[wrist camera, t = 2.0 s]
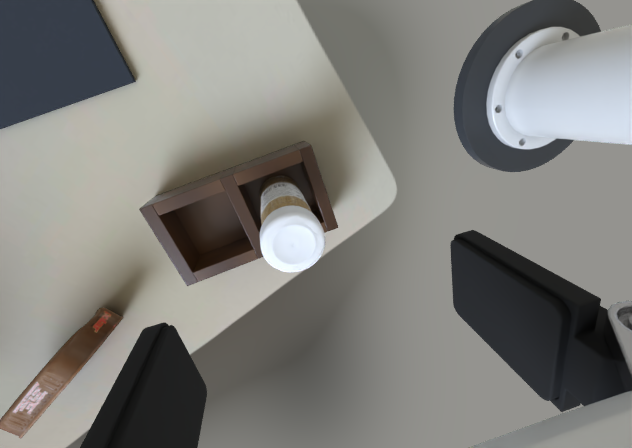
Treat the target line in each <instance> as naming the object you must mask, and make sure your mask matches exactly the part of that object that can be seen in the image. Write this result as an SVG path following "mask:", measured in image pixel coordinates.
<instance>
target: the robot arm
mask: <svg viewBox="0 0 632 448" xmlns="http://www.w3.org/2000/svg"><path fill="white" fill-rule="evenodd" d="M486 106H487V117H488V122H489V125H490V127H491V129H492V132H493V133H494V134H495V136H496V137H497V138H498V139H499V140H500V141H501V142H502V143H504V144H505V145H507V146H510V147H512V148H518V149H534V148H539V147H542V146H544V145H547V144H549V143H550V142H552V141H554V140H555V139H557V138H558V139H570V140H581V141H593V142H605V143H617V144H628V145H632V24H631V25H627V26H623V27H619V28H614V29H610V30H606V31H602V32H598V33H593V34H589V35H585V36H581V37H580V36H579V35H578V34H577V33H575V32H574V31H572V30H570V29H567V28H564V27H549V28H545V29H541V30H538V31H535V32H533V33H530V34H528V35H527V36H525V37H523V38H522V39H520V40H519V41H518V42H517V43H515V44H514V45H513V46H512V47H511V48H510V49H509V50H508V52H507V53H506V54H505V55H504V56H503V58H502V59H501V61H500V63H499V64H498V66H497V67H496V69H495V72H494V74H493V76H492V79H491V82H490V85H489V89H488V94H487V102H486ZM451 264H452V285H453V303H454V308H455V310H456V312H457V313H458V314H459V315H460V317H461V318H462V319H463V320H464V321H465V322H467V324H468V325H469V326H471V327H472V329H473V330H474V331H475V332H476V333H477V334H478V335H479V336H480V337H481V338H482V339H483V340H484V341H485V342H486V343H487V344H488V345H489V346H490V347H491V348H492V349H493V350H494V351H495V352H496V353H497V354H498V355H499V356H500V357H501V358H502V359H503V360H504V361H505V362H506V363H507V364H508V365H509V366H510V367H511V368H512V369H513V370H514V371H515V372H516V373H517V374H518V375H519V376H520V377H521V378H522V379H523V380H524V381H525V382H526V383H527V384H528V385H529V386H530V387H531V388H532V389H533V390H534V391H535V392H536V393H537V394H538V395H539V396H540V397H541V398H543V399H544V400H547V401H549V400H550V401H551V402H552V403H553V404H554V405H555V406H556V407H557V408H558V409H559V410H560V411H561V412H563V411H566V410H569V409H571V408H574V407H576V406H579V405H580V403H581V404H582V405H584V407H581V408H578V409H575V410H572V411H569V412H566V413H563V414H560V415H558V416H555V417H552V418H549V419H546V420H544V421H541V422H538V423H535V424H533V425H530V426H527V427H525V428H522V429H519V430H516V431H513V432H510V433H508V434H505V435H502V436H500V437H497V438H494V439H491V440H488V441H486V442H483V443H480V444H478V445H475V446H472V447H469V448H632V301H625V302H618V303H616V304H613V305H611V306H610V308H609V309H608V310H607V309H605V308H603V307H601V306H600V301H601V299H600V298H599V297H597V296H595V295H593V294H591V293H589V292H587V291H586V290H584V289H582V288H580V287H578V286H576V285H575V284H573V283H571V282H569V281H567V280H565V279H563V278H562V277H560V276H558V275H556V274H554V273H553V272H551V271H549V270H547V269H545V268H543V267H541V266H540V265H538V264H536V263H534V262H532V261H530V260H528V259H527V258H525V257H523V256H521V255H519V254H517V253H516V252H514V251H512V250H510V249H508V248H506V247H504V246H503V245H501V244H499V243H497V242H495V241H493V240H491V239H490V238H488V237H486V236H484V235H482V234H481V233H478V232H477V231H474V230H471V231H468V232H464V233H461V234H458V235H456V236H455V238H454V240H453V241H451ZM206 397H207V390H206V385H205V383H204V381H203V379H202V377H201V376H200V374H199V372H198V370H197V368H196V366H195V364H194V362H193V360H192V358H191V357H190V355H189V353H188V351H187V349H186V347H185V345H184V343H183V342H182V340H181V338H180V336H179V334H178V332H177V330H176V329H175V327H174V326H173V325H170V326H168V324H166V323H161V324H157V325H154V326H151V327H147V328H145V329H143V331H142V332H141V334H140V336H139V338H138V340H137V342H136V344H135V346H134V347H133V349H132V351H131V353H130V355H129V357H128V359H127V361H126V362H125V364H124V366H123V368H122V370H121V372H120V374H119V376H118V377H117V379H116V381H115V383H114V385H113V387H112V389H111V391H110V392H109V394H108V396H107V398H106V400H105V402H104V404H103V406H102V407H101V409H100V411H99V413H98V415H97V417H96V419H95V421H94V422H93V424H92V426H91V428H90V430H89V432H88V434H87V436H86V438H85V439H84V441H83V443H82V445H81V447H80V448H197V446H198V441H199V435H200V430H201V424H202V419H203V413H204V407H205V402H206Z"/></svg>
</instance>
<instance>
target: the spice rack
mask: <svg viewBox="0 0 632 448" xmlns="http://www.w3.org/2000/svg"><path fill="white" fill-rule="evenodd" d="M279 175H283V176H287V177H289V178H291V179H293V180H294V181H295V182H296V183H297V185H298V186H299V188H300V191H301V193H302V195H303V196H304V198H305V200H306V202H307V204H308V206H309V207H310V209H311V212H312V213H313V214H314V215H315V216H316V217H317V219H318V220H319V222H320V224H321V226H322V228H323V230H324V233H325V232H327V231H331V230H333V229H336V228H338V225H337V222H336V219H335V216H334V213H333V210H332V207H331V204H330V201H329V198H328V195H327V192H326V189H325V186H324V183H323V180H322V177H321V174H320V171H319V168H318V165H317V162H316V158H315V155H314V152H313V149H312V146H311V145H310V144H308V143H306V142H305V141H303V142H300V143H297V144H295V145H292V146H289V147H286V148H284V149H281V150H278V151H276V152H273V153H270V154H268V155H265V156H262V157H259V158H257V159H254V160H251V161H249V162H246V163H243V164H241V165H238V166H235V167H233V168H230V169H227V170H224V171H222V172H219V173H216V174H214V175H211V176H208V177H206V178H203V179H200V180H198V181H195V182H192V183H189V184H187V185H184V186H181V187H179V188H176V189H173V190H171V191H168V192H165V193H162V194H160V195H157V196H155V197H154V198H152V199H151V200H150V201H149V202H147V203H146V204H145V205H144V206H142V207H141V208H140V209H139V210H140V211H141V213H142V214H143V216H144V218H145V219H146V221H147V222H148V224H149V226H150V227H151V229H152V230H153V232H154V234H155V235H156V237H157V238H158V240H159V242H160V243H161V245H162V246H163V248H164V250H165V251H166V253H167V254H168V256H169V258H170V259H171V261H172V262H173V264H174V266H175V267H176V269H177V270H178V272H179V274H180V275H181V277H182V279H183V280H184V282H185V283H186V285H187V286H189V285H191V284H194V283H197V282H199V281H202V280H204V279H207V278H209V277H212V276H215V275H217V274H220V273H222V272H225V271H227V270H230V269H233V268H235V267H238V266H240V265H243V264H245V263H248V262H251V261H253V260H256V259H258V258H261V257H264V256H263V254H262V251H261V247H260V229H261V226H262V223H261V202H260V197H259V194H260V190H261V187H262V185H263V184H264V182H265V181H266V180H268V179H269V178H271V177H274V176H279Z"/></svg>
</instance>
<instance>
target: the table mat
mask: <svg viewBox="0 0 632 448" xmlns="http://www.w3.org/2000/svg"><path fill="white" fill-rule="evenodd" d="M133 82H136V81H135V79H134V77H133V75H132V73H131V71H130V69H129V67H128V65H127V64H126V62H125V60H124V58H123V56H122V54H121V52H120V50H119V48H118V46H117V45H116V43H115V41H114V39H113V37H112V35H111V33H110V31H109V29H108V27H107V26H106V24H105V22H104V20H103V18H102V16H101V14H100V12H99V10H98V8H97V7H96V5H95V3H94V1H93V0H0V129H2V128H5V127H8V126H11V125H14V124H16V123H19V122H22V121H25V120H28V119H31V118H33V117H36V116H39V115H42V114H45V113H48V112H51V111H53V110H56V109H59V108H62V107H65V106H68V105H71V104H73V103H76V102H79V101H82V100H85V99H88V98H90V97H93V96H96V95H99V94H102V93H105V92H108V91H110V90H113V89H116V88H119V87H122V86H125V85H127V84H130V83H133Z"/></svg>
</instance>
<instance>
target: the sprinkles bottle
mask: <svg viewBox="0 0 632 448" xmlns="http://www.w3.org/2000/svg"><path fill="white" fill-rule="evenodd" d="M259 197H260V202H261V223H262V226H261V229H260V247H261V251H262V254H263V256H264V258H265V259H266V261H267V262H268V263H269V264H270V265H271V266H273V267H274V268H276V269H278V270H281V271H284V272H298V271H302V270H305V269H307V268H309V267H311V266H312V265H313V264H315V263H316V262H317V261H318V259H319V258H320V257H321V255H322V253H323V251H324V248H325V233H324V230H323V228H322V226H321V224H320V222H319V220H318V219H317V217H316V216H315V215H314V214H313V213H312V212H311V209H310V207H309V206H308V204H307V202H306V200H305V198H304V196H303V195H302V193H301V191H300V188H299V186H298V185H297V183H296V182H295V181H294V180H293V179H291V178H289V177H287V176H283V175H279V176H274V177H271V178H269V179H268V180H266V181H265V182H264V184H263V185H262V187H261V190H260V194H259Z"/></svg>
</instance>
